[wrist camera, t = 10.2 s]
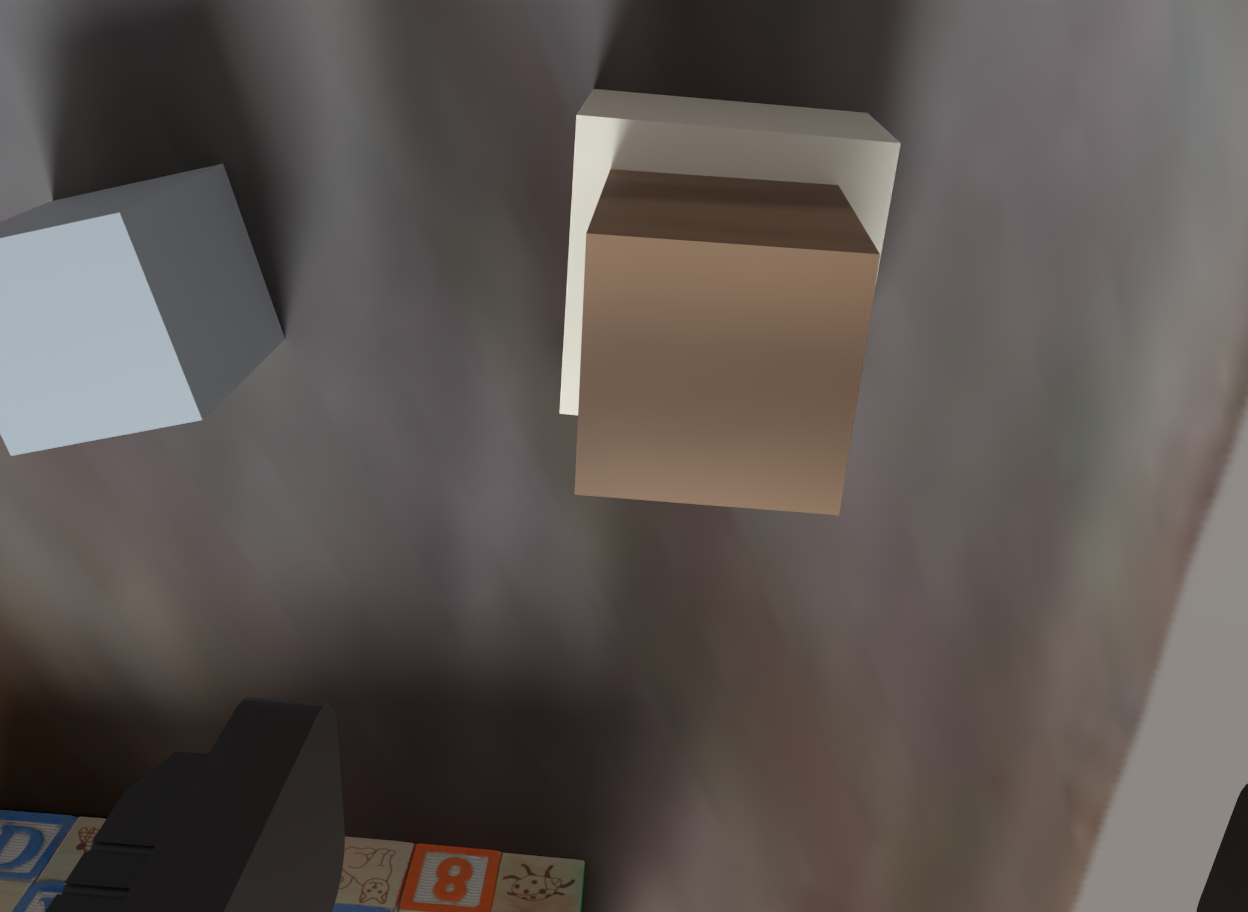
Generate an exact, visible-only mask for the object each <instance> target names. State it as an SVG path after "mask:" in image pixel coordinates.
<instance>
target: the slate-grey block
mask: <svg viewBox="0 0 1248 912" xmlns="http://www.w3.org/2000/svg"><path fill="white" fill-rule="evenodd" d="M284 339H285V338H284V335H283V332H282V329H281V326H280V323H279V321H278V318H277V315H276V312H275V309H274V306H273V304H272V301H271V298H270V295H269V292H268V289H267V287H266V284H265V281H264V278H263V275H262V272H261V270H260V267H259V264H258V261H257V258H256V255H255V253H254V250H253V247H252V244H251V241H250V238H249V236H248V233H247V230H246V227H245V224H244V221H243V219H242V216H241V213H240V210H239V207H238V204H237V202H236V199H235V196H234V193H233V190H232V187H231V185H230V182H229V179H228V176H227V173H226V171H225V168H224V165H223V164H219V165H214V166H209V167H205V168H200V169H196V170H191V171H187V172H182V173H177V174H173V175H168V176H164V177H159V178H155V179H150V180H145V181H141V182H136V183H132V184H127V185H123V186H118V187H114V188H109V189H104V190H100V191H95V192H91V193H86V194H82V195H77V196H72V197H68V198H63V199H59V200H54V201H51V202H49V203H46V204H44V205H41V206H39V207H36V208H34V209H31V210H29V211H26V212H24V213H21V214H19V215H16V216H14V217H12V218H9V219H7V220H4V221H2V222H0V434H1V436H2V438H3V440H4V442H5V445H6V447H7V449H8V451H9V453H10V455H11V456H13V455H18V454H23V453H29V452H34V451H39V450H45V449H50V448H56V447H61V446H66V445H72V444H77V443H82V442H88V441H93V440H98V439H104V438H109V437H114V436H120V435H125V434H131V433H136V432H141V431H147V430H152V429H157V428H163V427H168V426H173V425H179V424H184V423H189V422H195V421H200V420H203V419H204V418H205V417H206V416H207V415H208V414H209V413H210V412H211V411H212V410H213V409H214V408H215V407H216V406H217V405H218V404H219V403H220V402H221V401H222V400H223V399H224V398H225V397H226V396H227V395H228V394H229V393H230V392H231V391H232V390H233V389H234V388H235V387H237V386H238V385H239V384H240V383H241V382H242V381H243V380H244V379H245V378H246V377H247V376H248V375H249V374H250V373H251V372H252V371H253V370H254V369H255V368H256V367H257V366H258V365H259V364H260V363H261V362H262V361H263V360H264V359H265V358H266V357H267V356H268V355H269V354H270V353H271V352H272V351H273V350H274V349H275V348H276V347H277V346H278V345H279V344H280V343H281V342H282V341H283V340H284Z"/></svg>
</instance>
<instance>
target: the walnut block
mask: <svg viewBox="0 0 1248 912" xmlns="http://www.w3.org/2000/svg"><path fill="white" fill-rule="evenodd" d="M879 259H880V253H879V252H878V250H877V248H876V247H875V245H874V243H873V242H872V240H871V238H870V237H869V235H868V233H867V232H866V230H865V228H864V227H863V225H862V223H861V222H860V220H859V218H858V217H857V215H856V213H855V212H854V210H853V208H852V207H851V205H850V204H849V202H848V200H847V199H846V197H845V195H844V194H843V192H842V190H841V189H840V187H839V185H829V184H815V183H801V182H787V181H772V180H758V179H744V178H729V177H715V176H701V175H686V174H672V173H658V172H644V171H629V170H615V169H610V171H609V174H608V177H607V179H606V182H605V185H604V187H603V190H602V193H601V195H600V198H599V201H598V203H597V206H596V209H595V211H594V214H593V217H592V219H591V222H590V225H589V227H588V230H587V233H586V249H585V272H584V294H583V317H582V340H581V362H580V385H579V408H578V430H577V453H576V475H575V495H587V496H600V497H612V498H625V499H638V500H651V501H664V502H676V503H689V504H702V505H715V506H728V507H740V508H753V509H766V510H779V511H792V512H804V513H817V514H830V515H839V512H840V506H841V499H842V493H843V487H844V480H845V474H846V468H847V461H848V455H849V449H850V442H851V436H852V430H853V424H854V417H855V411H856V405H857V398H858V392H859V386H860V379H861V373H862V367H863V360H864V354H865V348H866V341H867V335H868V329H869V322H870V316H871V310H872V303H873V297H874V291H875V284H876V278H877V272H878V266H879Z"/></svg>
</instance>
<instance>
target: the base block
mask: <svg viewBox="0 0 1248 912" xmlns="http://www.w3.org/2000/svg"><path fill="white" fill-rule="evenodd" d="M900 145H901V143H900V142H899V141H898V140H897V139H896V138H895V137H893V136H892V135H891V134H890V133H889V132H888V131H887V130H886V129H885V128H884V127H883V126H881V125H880V124H879V123H878V122H877V121H876V120H875V119H874V118H873V117H872V116H870V115H869V114H868V113H864V112H852V111H841V110H829V109H818V108H807V107H795V106H784V105H772V104H761V103H749V102H738V101H726V100H715V99H703V98H692V97H680V96H669V95H658V94H646V93H635V92H623V91H612V90H600V89H593V90H592V92H591V93H590V95H589V97H588V98H587V100H586V101H585V103H584V104H583V106H582V107H581V109H580V110H579V112H578V113H577V116H576V134H575V151H574V168H573V186H572V203H571V221H570V238H569V256H568V273H567V291H566V308H565V326H564V343H563V361H562V378H561V396H560V413H559V414H570V415H578V408H579V385H580V362H581V340H582V317H583V294H584V272H585V249H586V233H587V230H588V227H589V225H590V222H591V219H592V217H593V214H594V211H595V209H596V206H597V203H598V201H599V198H600V195H601V193H602V190H603V187H604V185H605V182H606V179H607V177H608V174H609V171H610V169H615V170H629V171H644V172H658V173H672V174H686V175H701V176H715V177H729V178H744V179H758V180H772V181H787V182H801V183H815V184H829V185H839V187H840V189H841V190H842V192H843V194H844V195H845V197H846V199H847V200H848V202H849V204H850V205H851V207H852V208H853V210H854V212H855V213H856V215H857V217H858V218H859V220H860V222H861V223H862V225H863V227H864V228H865V230H866V232H867V233H868V235H869V237H870V238H871V240H872V242H873V243H874V245H875V247H876V248H877V250H878V252H879V253H880V258H881V252H882V246H883V241H884V235H885V229H886V224H887V218H888V213H889V207H890V201H891V196H892V190H893V184H894V179H895V173H896V168H897V162H898V156H899V151H900ZM879 263H880V259H879ZM878 269H879V266H878ZM877 274H878V272H877ZM876 280H877V278H876ZM875 286H876V284H875Z"/></svg>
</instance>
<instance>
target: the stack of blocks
mask: <svg viewBox="0 0 1248 912" xmlns="http://www.w3.org/2000/svg"><path fill="white" fill-rule="evenodd" d="M105 820H106V819H104V818H93V817H75V816H72V815H60V814H50V813H33V812H21V811H10V810H0V912H45V911H46V910H47V908H48V907H49V905H50V904H51V902H52V901H53V899H54V898H55V896H56V895H57V894H62V892H63V890H64V883H65V881H66V880H67V878H68V876H69V875H70V873H71V872H72V870H73V869H74V867H75V866H76V864H77V863H78V861H79V860H80V858H81V857H82V855H83V854H84V852H85V851H90V849H91V846H92V840H93V839H94V837H95V836H96V834H97V833H98V831H99V830H100V828H101V827H102V825H103V824H104V822H105ZM584 870H585V861H583V860H576V859H565V858H554V857H543V856H533V855H522V854H512V853H502V852H500V851H497V850H487V849H476V848H465V847H454V846H443V845H432V844H414V843H410V842H400V841H392V840H379V839H369V838H356V837H345V849H344V860H343V868H342V874H341V880H340V885H339V889H338V894H337V897H336V901H335V904H334V907H333V910H332V912H581V907H582V894H583V881H584Z"/></svg>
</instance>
